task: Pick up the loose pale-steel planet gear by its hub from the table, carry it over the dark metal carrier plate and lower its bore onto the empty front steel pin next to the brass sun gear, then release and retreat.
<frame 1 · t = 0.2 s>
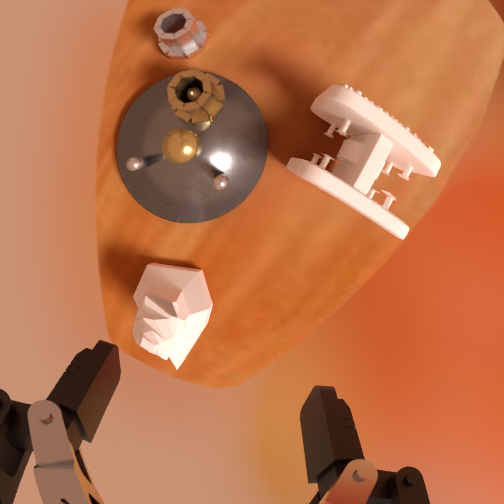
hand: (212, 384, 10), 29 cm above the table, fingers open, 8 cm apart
seated gear: (199, 99, 30), resting on carrier
cable organizer: (344, 158, 34), on the table
white faceted rock: (174, 300, 42), on the table
planet gear: (184, 39, 28), on the table
carrier: (189, 146, 34), on the table
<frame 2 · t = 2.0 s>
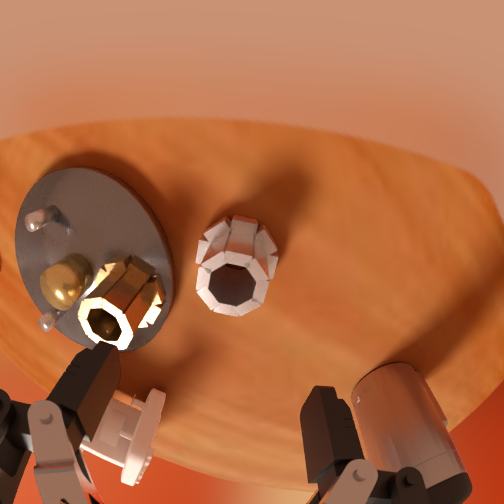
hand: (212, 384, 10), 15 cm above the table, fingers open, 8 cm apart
seated gear: (132, 288, 23), resting on carrier
cable organizer: (127, 397, 32), on the table
planet gear: (237, 252, 24), on the table
carrier: (85, 266, 24), on the table
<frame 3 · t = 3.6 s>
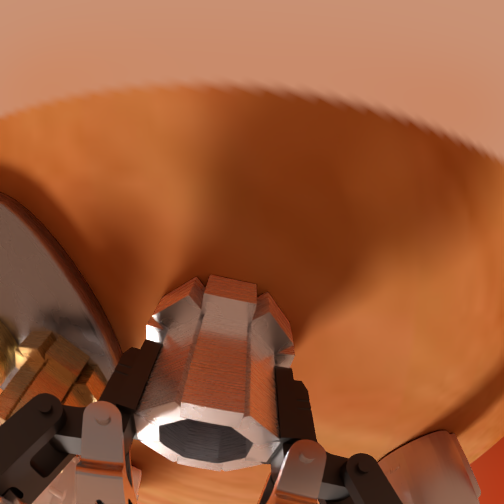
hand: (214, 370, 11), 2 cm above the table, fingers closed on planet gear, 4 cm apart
seated gear: (67, 374, 13), resting on carrier
cable organizer: (100, 461, 21), on the table
planet gear: (220, 337, 13), on the table, touching gripper
carrier: (13, 328, 14), on the table
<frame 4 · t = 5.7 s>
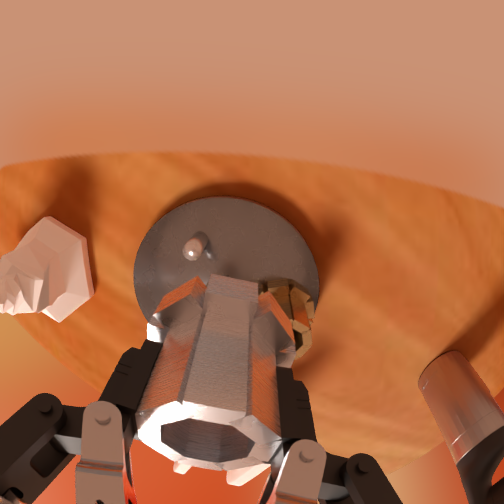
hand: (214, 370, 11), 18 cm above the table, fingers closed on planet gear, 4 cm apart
seated gear: (281, 306, 29), resting on carrier
cable organizer: (230, 404, 37), on the table
white faceted rock: (57, 258, 30), on the table
planet gear: (221, 336, 13), point 16 cm above the table, touching gripper
carrier: (224, 288, 30), on the table
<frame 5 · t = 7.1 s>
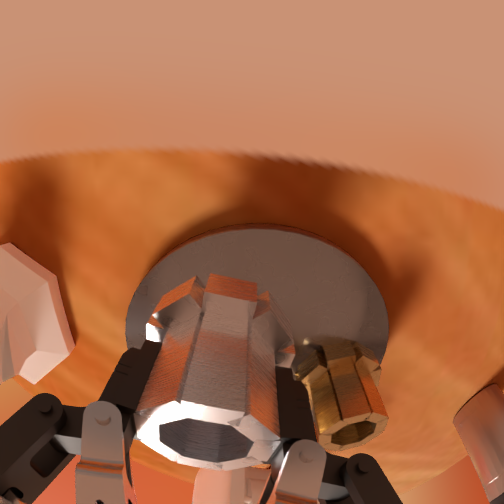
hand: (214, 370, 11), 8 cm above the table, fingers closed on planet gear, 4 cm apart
seated gear: (335, 373, 20), resting on carrier
cable organizer: (251, 459, 28), on the table
white faceted rock: (24, 297, 20), on the table
planet gear: (220, 336, 13), point 6 cm above the table, touching gripper
carrier: (257, 350, 20), on the table
when the fingers open (5 cm above the table, at t = 8.0 s): planet gear drops 1 cm, resting on carrier.
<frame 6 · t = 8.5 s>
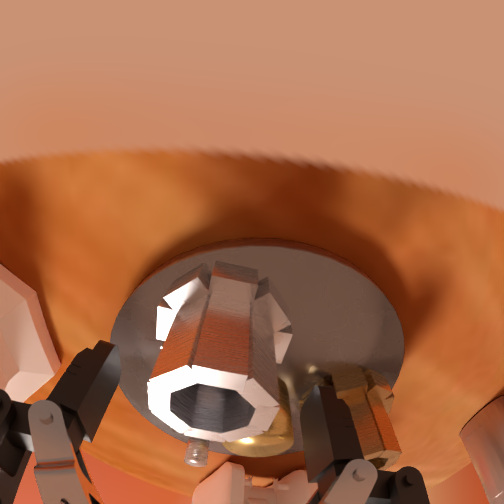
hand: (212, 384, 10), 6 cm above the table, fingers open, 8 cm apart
seated gear: (343, 400, 17), resting on carrier
cable organizer: (250, 476, 25), on the table
white faceted rock: (7, 311, 17), on the table
planet gear: (224, 319, 14), point 1 cm above the table, touching carrier
carrier: (257, 377, 18), on the table
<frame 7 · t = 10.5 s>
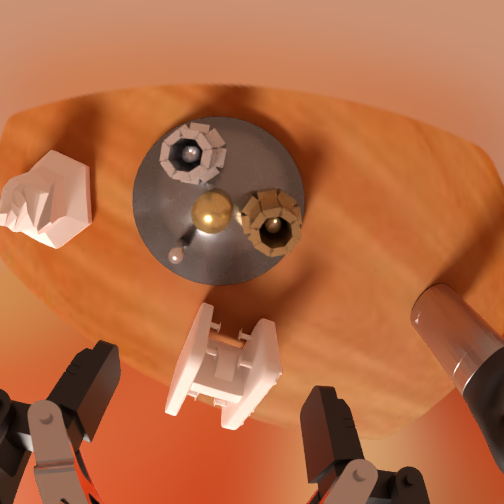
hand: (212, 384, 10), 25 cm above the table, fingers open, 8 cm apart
seated gear: (270, 216, 31), resting on carrier
cable organizer: (223, 340, 40), on the table
white faceted rock: (58, 192, 31), on the table
planet gear: (197, 152, 28), point 1 cm above the table, touching carrier
carrier: (216, 203, 32), on the table
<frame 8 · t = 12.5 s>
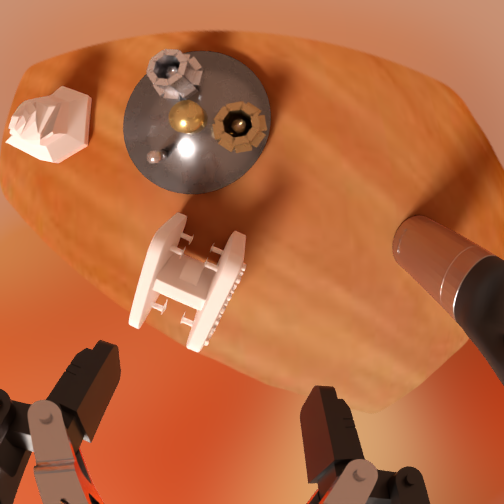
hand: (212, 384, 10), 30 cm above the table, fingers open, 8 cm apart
seated gear: (240, 127, 33), resting on carrier
cable organizer: (197, 261, 41), on the table
white faceted rock: (62, 123, 33), on the table
planet gear: (179, 78, 30), point 1 cm above the table, touching carrier
carrier: (194, 120, 34), on the table
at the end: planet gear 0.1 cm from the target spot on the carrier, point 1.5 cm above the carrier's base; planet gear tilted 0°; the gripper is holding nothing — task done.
